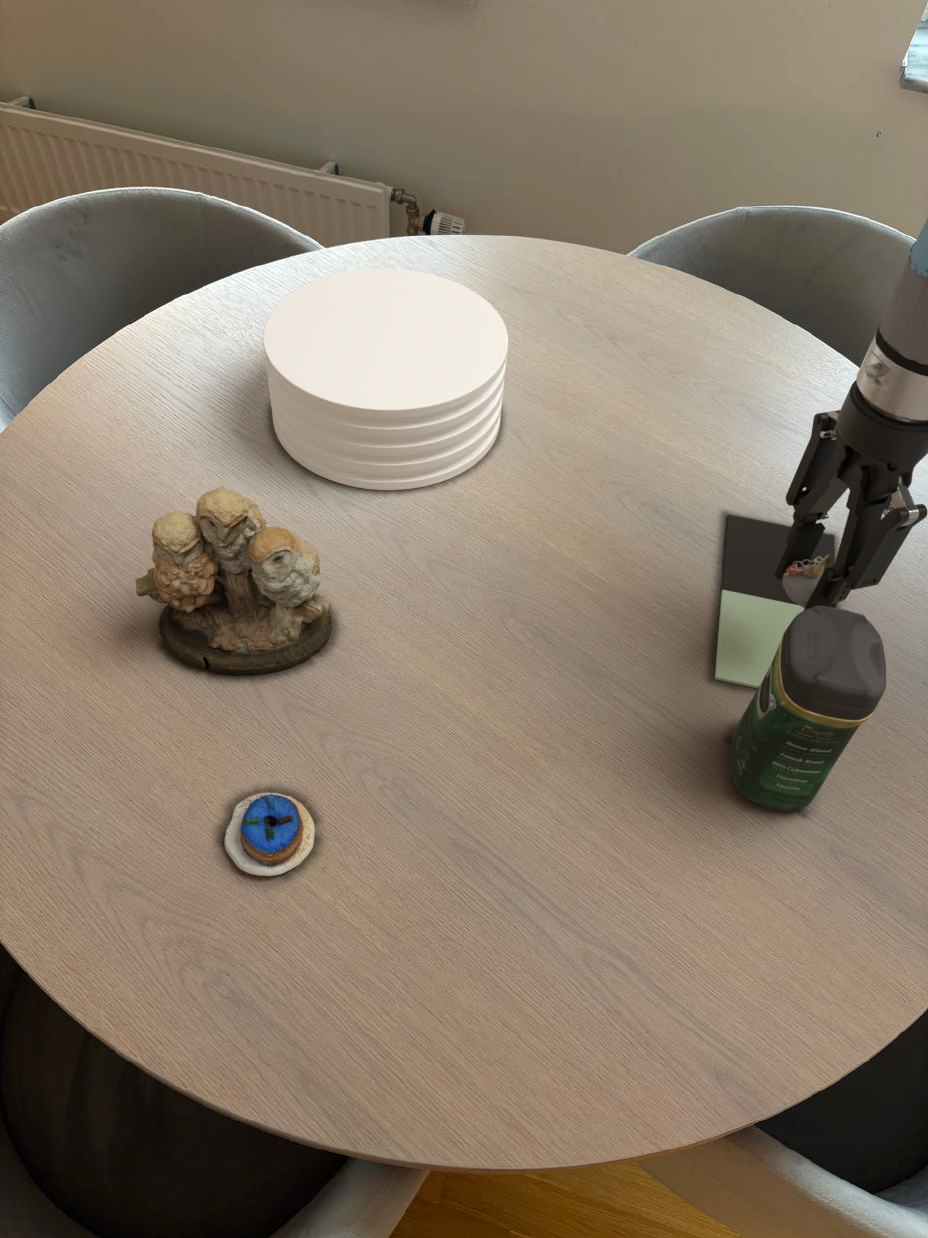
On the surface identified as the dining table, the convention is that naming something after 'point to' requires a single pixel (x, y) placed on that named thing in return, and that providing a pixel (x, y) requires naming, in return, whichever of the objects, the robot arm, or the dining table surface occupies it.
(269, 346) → the plate stack
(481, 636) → the dining table surface
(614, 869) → the dining table surface
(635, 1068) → the dining table surface
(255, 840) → the dessert
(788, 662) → the coffee jar
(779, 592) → the sorting mat
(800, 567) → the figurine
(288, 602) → the owl figurine
